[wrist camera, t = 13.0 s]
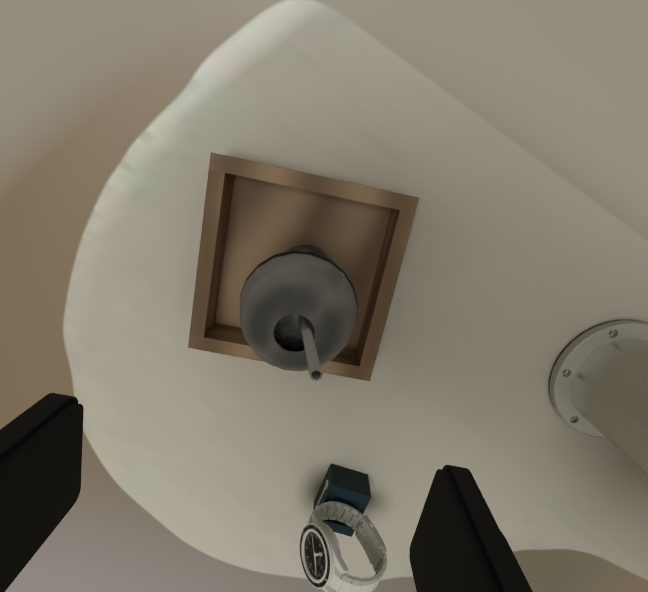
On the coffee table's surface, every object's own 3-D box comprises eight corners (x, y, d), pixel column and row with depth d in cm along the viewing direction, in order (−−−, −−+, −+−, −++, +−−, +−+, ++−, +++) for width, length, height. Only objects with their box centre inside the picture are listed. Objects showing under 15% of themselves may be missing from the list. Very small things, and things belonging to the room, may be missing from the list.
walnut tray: (406, 196, 33) (419, 197, 29) (364, 358, 38) (369, 381, 34) (225, 156, 32) (210, 152, 28) (203, 328, 37) (188, 347, 33)
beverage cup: (261, 231, 33) (178, 296, 14) (344, 225, 33) (374, 281, 14) (270, 310, 35) (209, 460, 16) (348, 304, 35) (380, 448, 16)
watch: (313, 458, 41) (311, 552, 31) (382, 479, 42) (402, 578, 32) (297, 497, 43) (289, 600, 32) (363, 517, 44) (377, 623, 33)
